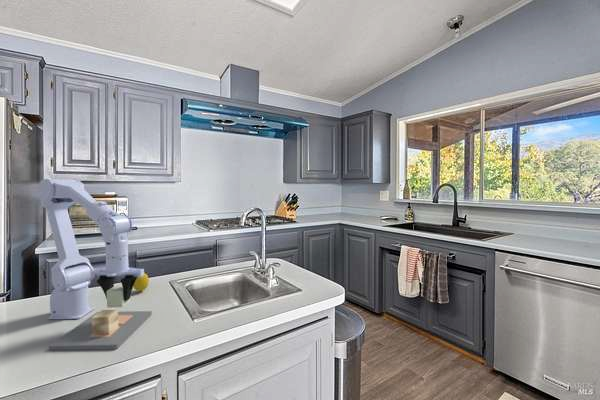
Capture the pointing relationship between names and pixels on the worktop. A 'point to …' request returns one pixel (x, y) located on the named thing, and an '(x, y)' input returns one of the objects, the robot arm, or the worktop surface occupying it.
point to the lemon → (141, 283)
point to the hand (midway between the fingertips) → (118, 299)
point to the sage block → (116, 297)
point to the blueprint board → (87, 341)
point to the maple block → (105, 322)
